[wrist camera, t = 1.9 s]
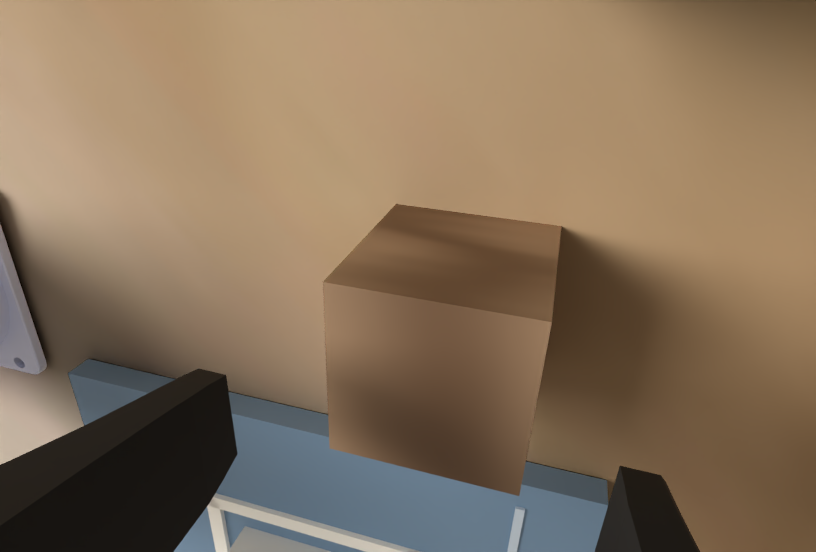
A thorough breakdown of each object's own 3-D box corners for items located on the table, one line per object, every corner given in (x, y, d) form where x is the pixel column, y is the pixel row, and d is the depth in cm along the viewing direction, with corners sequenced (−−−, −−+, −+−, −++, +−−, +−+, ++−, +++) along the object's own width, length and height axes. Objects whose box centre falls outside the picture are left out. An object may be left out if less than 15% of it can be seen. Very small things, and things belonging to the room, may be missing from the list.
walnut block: (392, 337, 17) (329, 448, 13) (396, 203, 15) (323, 281, 11) (536, 365, 16) (519, 496, 12) (561, 225, 14) (552, 322, 10)
